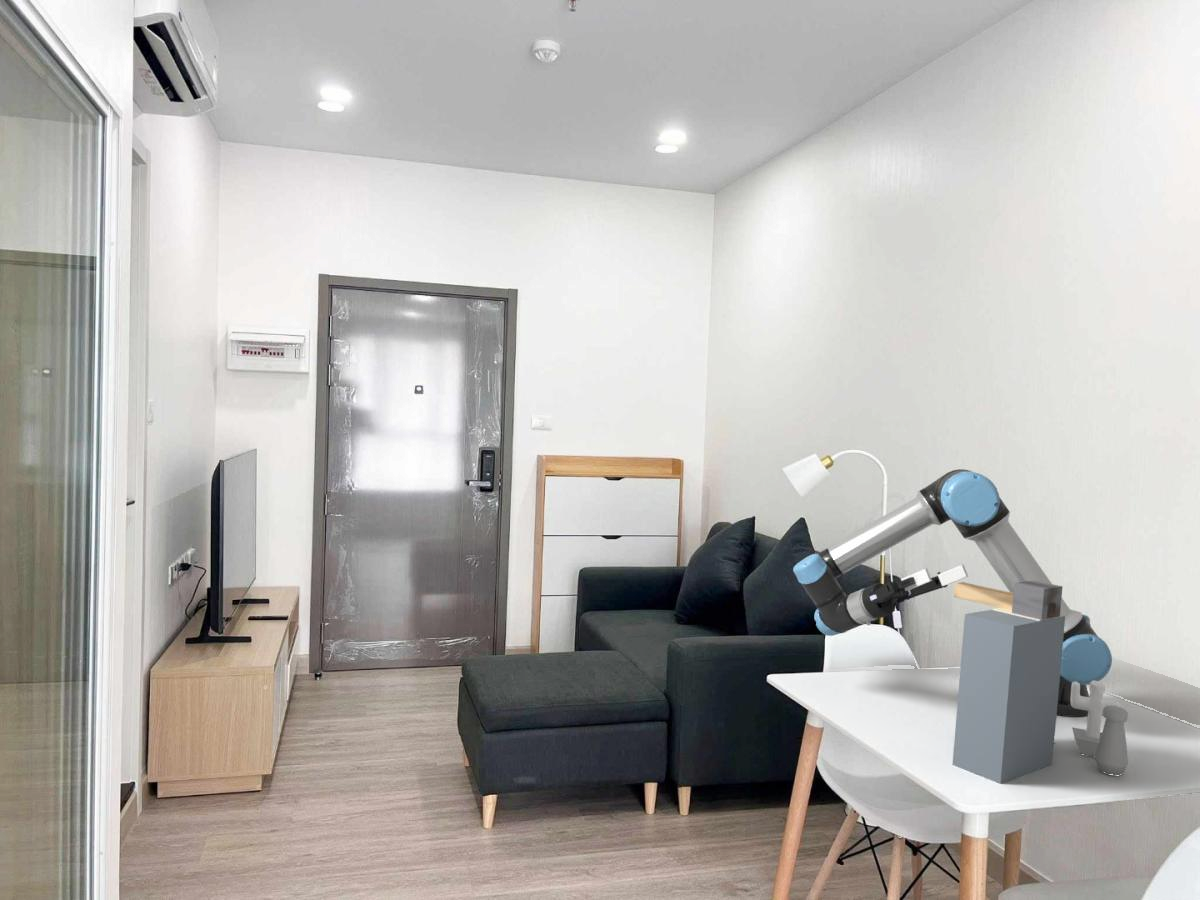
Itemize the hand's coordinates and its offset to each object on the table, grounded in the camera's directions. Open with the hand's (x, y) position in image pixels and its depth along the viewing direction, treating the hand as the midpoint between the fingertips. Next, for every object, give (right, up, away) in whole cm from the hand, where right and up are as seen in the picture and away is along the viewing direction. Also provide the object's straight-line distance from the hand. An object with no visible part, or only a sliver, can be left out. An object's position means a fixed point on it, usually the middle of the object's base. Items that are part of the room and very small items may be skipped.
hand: (947, 572), depth 195 cm
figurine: (+28, -37, -5) cm, 47 cm away
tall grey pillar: (+6, -36, -14) cm, 39 cm away
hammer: (+8, -6, -10) cm, 13 cm away
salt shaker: (+26, -38, -15) cm, 48 cm away
